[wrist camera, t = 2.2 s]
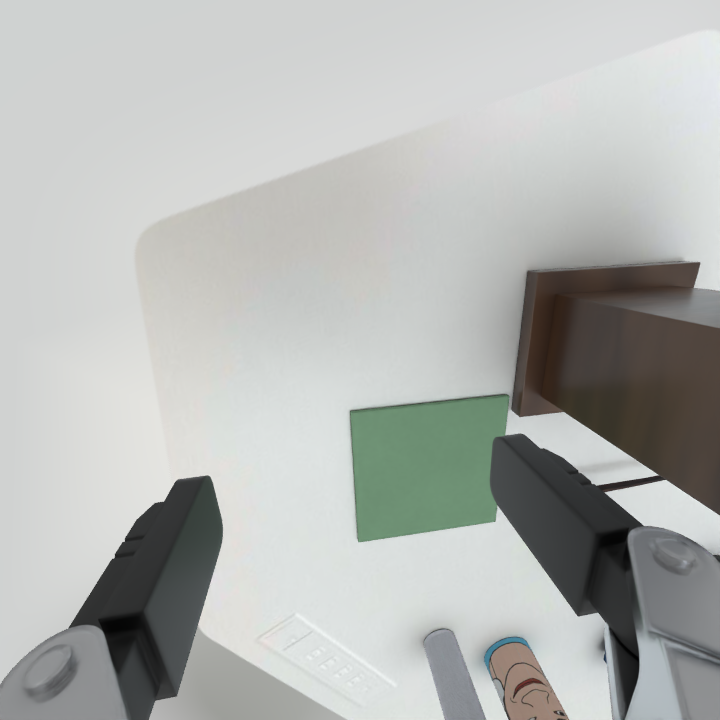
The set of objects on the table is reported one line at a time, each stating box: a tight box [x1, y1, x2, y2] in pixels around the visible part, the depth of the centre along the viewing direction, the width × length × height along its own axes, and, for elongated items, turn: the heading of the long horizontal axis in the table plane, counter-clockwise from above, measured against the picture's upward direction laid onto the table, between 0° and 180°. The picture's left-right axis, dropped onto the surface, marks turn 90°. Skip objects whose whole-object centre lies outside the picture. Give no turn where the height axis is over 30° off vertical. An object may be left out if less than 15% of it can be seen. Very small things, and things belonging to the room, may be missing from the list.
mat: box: [350, 395, 509, 542], centre depth 36 cm, size 16×16×1 cm
